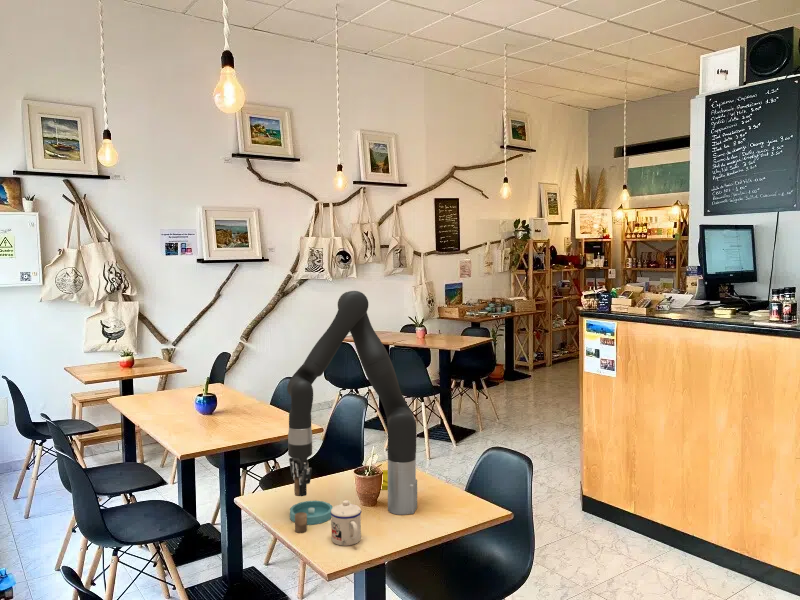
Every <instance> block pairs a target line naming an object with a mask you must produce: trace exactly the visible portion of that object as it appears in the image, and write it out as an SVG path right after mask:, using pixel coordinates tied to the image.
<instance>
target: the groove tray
mask: <svg viewBox="0 0 800 600" xmlns="http://www.w3.org/2000/svg"><path fill="white" fill-rule="evenodd" d="M333 507H334V506H333V505H332V504H331V503H330V502H326V501H323V500H305V501H301V502H300V501H299V502H298V503H295V504H293V505H292V506H291V507H290V508H289V519H290V521H291V522H293V523H295V514H296V513H300V512H304V513H306V514H307V526H314V525H319V524H324V523H326V522H328V521H330V520H331V509H332V508H333Z"/></svg>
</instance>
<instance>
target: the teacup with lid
mask: <svg viewBox="0 0 800 600" xmlns="http://www.w3.org/2000/svg"><path fill="white" fill-rule="evenodd" d="M362 511H363V510H362V509H361V507H360V506H359V505H357V504H353V503H351V502H350V500H348V499H345V500H343V501H342V502H341V503H340V504H336V505H334V506H333V508H332V509H331V519H330V520H331V521H330V522H331V527H330V528H331V541H332V543H333V544H335V545H338V546H344V547H345V546H353V545H356V544H357V543H359V542H360V541H361V540H362V535H361V534H362V530H361V529H362V525H361V523H362V522H361V520H362V517H361V514H362Z"/></svg>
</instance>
